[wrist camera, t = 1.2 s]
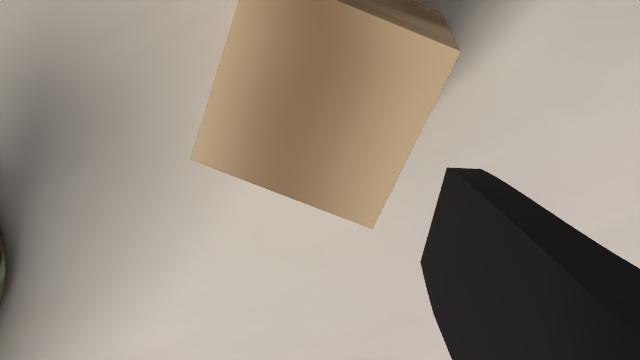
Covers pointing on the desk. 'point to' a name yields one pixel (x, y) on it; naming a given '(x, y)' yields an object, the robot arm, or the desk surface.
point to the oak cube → (325, 98)
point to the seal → (2, 269)
